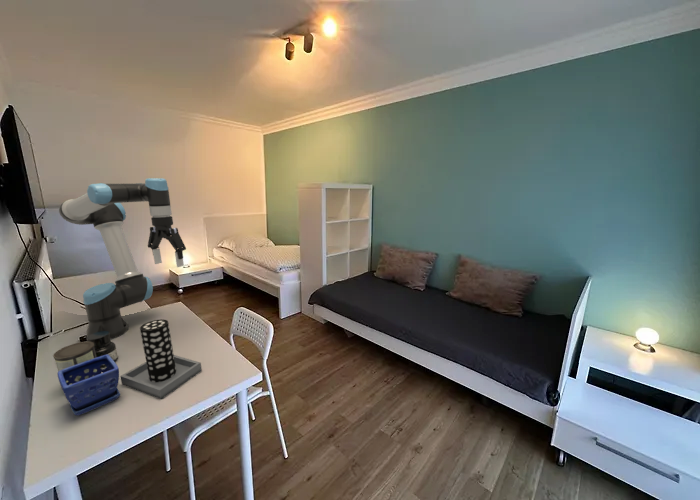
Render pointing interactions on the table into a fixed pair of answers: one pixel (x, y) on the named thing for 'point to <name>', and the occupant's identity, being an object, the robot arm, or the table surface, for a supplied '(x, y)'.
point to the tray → (142, 383)
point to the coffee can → (75, 356)
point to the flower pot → (90, 384)
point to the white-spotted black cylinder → (158, 350)
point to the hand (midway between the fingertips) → (169, 264)
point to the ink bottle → (103, 345)
